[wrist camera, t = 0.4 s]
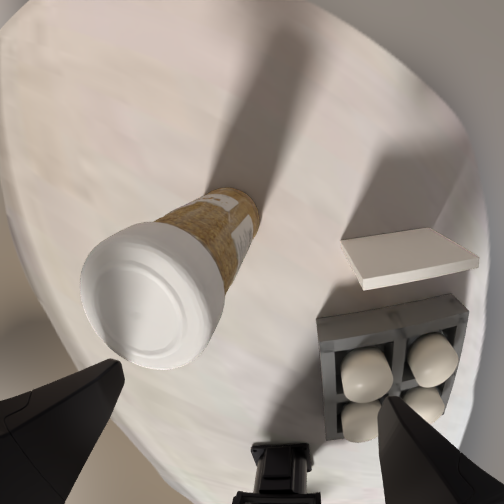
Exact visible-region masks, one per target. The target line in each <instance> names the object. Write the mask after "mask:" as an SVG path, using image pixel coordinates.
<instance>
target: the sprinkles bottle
mask: <svg viewBox="0 0 504 504" xmlns="http://www.w3.org/2000/svg"><path fill="white" fill-rule="evenodd" d="M258 226H259V215H258V210H257V208H256V206H255V204H254V202H253V200H252V199H251V198H250V197H249V196H248V195H246V194H245V193H244V192H242V191H239V190H237V189H234V188H219V189H216V190H213V191H211V192H209V193H208V194H207V195H205V196H202V197H200V198H198V199H196V200H194V201H192V202H190V203H188V204H186V205H184V206H182V207H179V208H177V209H175V210H173V211H171V212H170V213H168V214H166V215H165V216H164V217H162V218H159V219H157V220H156V221H154V222H144V223H139V224H135V225H133V226H130V227H128V228H126V229H124V230H121V231H119V232H118V233H116V234H114V235H112V236H110V237H109V238H107V239H105V240H104V241H102V242H100V243H99V244H98V245H97V246H96V247H94V249H93V250H92V251H91V252H90V254H89V255H88V257H87V259H86V261H85V263H84V265H83V268H82V271H81V278H80V295H81V301H82V305H83V308H84V311H85V314H86V316H87V318H88V320H89V322H90V324H91V326H92V328H93V329H94V331H95V332H96V333H97V335H98V336H99V337H100V338H101V340H102V341H103V342H104V343H105V344H106V345H107V346H108V347H109V348H110V349H112V350H113V351H114V352H115V353H117V354H118V355H119V356H121V357H123V358H124V359H126V360H128V361H130V362H132V363H134V364H136V365H139V366H142V367H146V368H150V369H159V370H168V369H174V368H179V367H182V366H184V365H186V364H189V363H190V362H191V361H193V360H195V359H196V358H197V357H198V356H199V355H200V354H201V353H202V352H203V351H204V349H205V348H206V346H207V345H208V343H209V341H210V339H211V337H212V335H213V333H214V331H215V329H216V327H217V325H218V322H219V320H220V318H221V315H222V312H223V308H224V302H225V295H226V292H227V291H228V289H229V287H230V286H231V284H232V283H233V281H234V279H235V277H236V275H237V273H238V271H239V268H240V266H241V264H242V262H243V260H244V258H245V256H246V254H247V251H248V249H249V247H250V245H251V242H252V240H253V239H254V237H255V235H256V234H257V231H258Z"/></svg>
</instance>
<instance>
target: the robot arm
mask: <svg viewBox="0 0 504 504" xmlns="http://www.w3.org/2000/svg"><path fill="white" fill-rule="evenodd" d="M124 382H125V377H124V373H123V369H122V364H121V362H120V361H118V360H115V359H111V358H110V359H107V360H105V361H102V362H100V363H98V364H95V365H93V366H90V367H88V368H86V369H83V370H81V371H79V372H76V373H74V374H71V375H69V376H66V377H64V378H62V379H59V380H57V381H54V382H52V383H50V384H47V385H44V386H42V387H39V388H37V389H34V390H32V391H29V392H26V393H24V394H21V395H18V396H15V397H12V398H9V399H6V400H2V401H0V504H65V501H66V499H67V497H68V495H69V493H70V491H71V489H72V487H73V486H74V483H75V482H76V480H77V478H78V476H79V474H80V472H81V470H82V468H83V466H84V464H85V463H86V461H87V459H88V457H89V455H90V453H91V451H92V450H93V448H94V446H95V444H96V442H97V440H98V438H99V437H100V435H101V433H102V431H103V429H104V428H105V426H106V424H107V422H108V420H109V418H110V417H111V414H112V412H113V410H114V407H115V405H116V402H117V400H118V398H119V395H120V393H121V390H122V388H123V386H124ZM377 423H378V442H379V458H380V465H381V472H382V479H383V486H384V494H385V503H386V504H504V484H502V483H501V482H499V481H498V480H497V479H495V478H494V477H492V476H491V475H489V474H488V473H486V472H485V471H484V470H482V469H481V468H479V467H478V466H477V465H476V464H474V463H473V462H472V461H471V460H470V459H468V458H467V457H466V456H465V455H464V454H463V453H460V451H459V450H458V449H457V448H456V447H455V446H454V445H452V444H451V443H450V442H449V441H448V440H447V439H446V438H445V437H443V436H442V435H441V434H440V433H439V432H438V431H437V430H436V429H434V428H433V427H432V426H431V425H430V424H429V423H428V422H427V421H425V420H424V419H423V418H422V417H421V416H420V415H419V414H418V413H417V412H415V411H414V410H413V409H412V408H411V407H410V406H409V405H408V404H407V403H405V402H404V401H403V400H402V399H401V398H400V397H399V396H387V397H386V398H385V399H384V401H383V404H382V406H381V408H380V410H379V412H378V416H377ZM251 453H252V455H253V458H254V461H255V463H256V466H257V472H256V478H255V485H254V491H253V493H247V492H243V491H238V492H237V495H236V496H235V497H233V502H232V504H321V494H320V492H316V493H310V494H306V493H307V472H310V471H311V470H312V467H311V458H310V449H309V445H308V444H293V445H275V446H252V447H251Z"/></svg>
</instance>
